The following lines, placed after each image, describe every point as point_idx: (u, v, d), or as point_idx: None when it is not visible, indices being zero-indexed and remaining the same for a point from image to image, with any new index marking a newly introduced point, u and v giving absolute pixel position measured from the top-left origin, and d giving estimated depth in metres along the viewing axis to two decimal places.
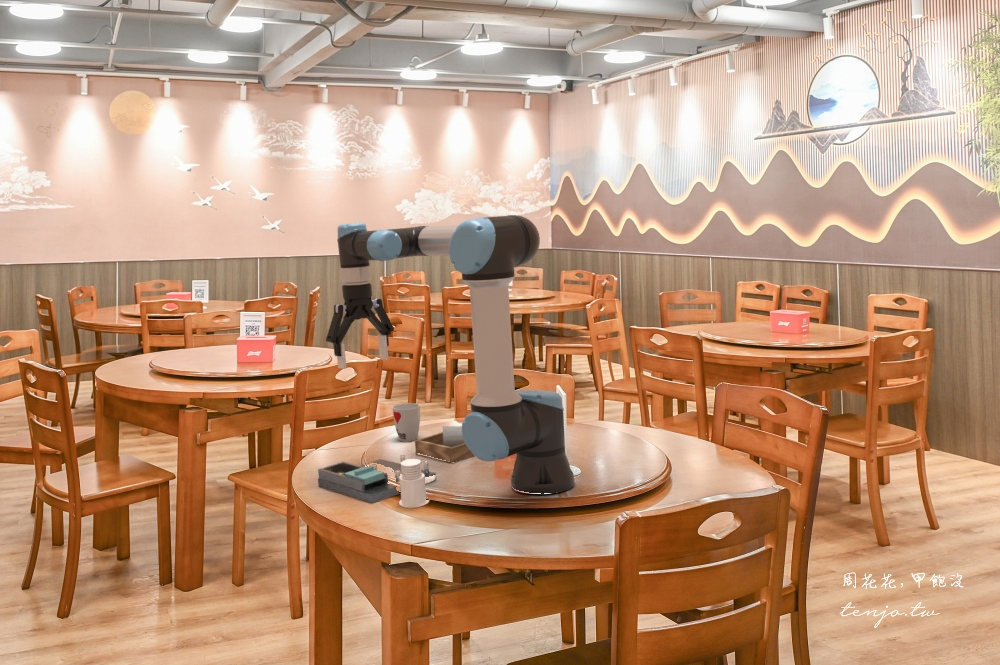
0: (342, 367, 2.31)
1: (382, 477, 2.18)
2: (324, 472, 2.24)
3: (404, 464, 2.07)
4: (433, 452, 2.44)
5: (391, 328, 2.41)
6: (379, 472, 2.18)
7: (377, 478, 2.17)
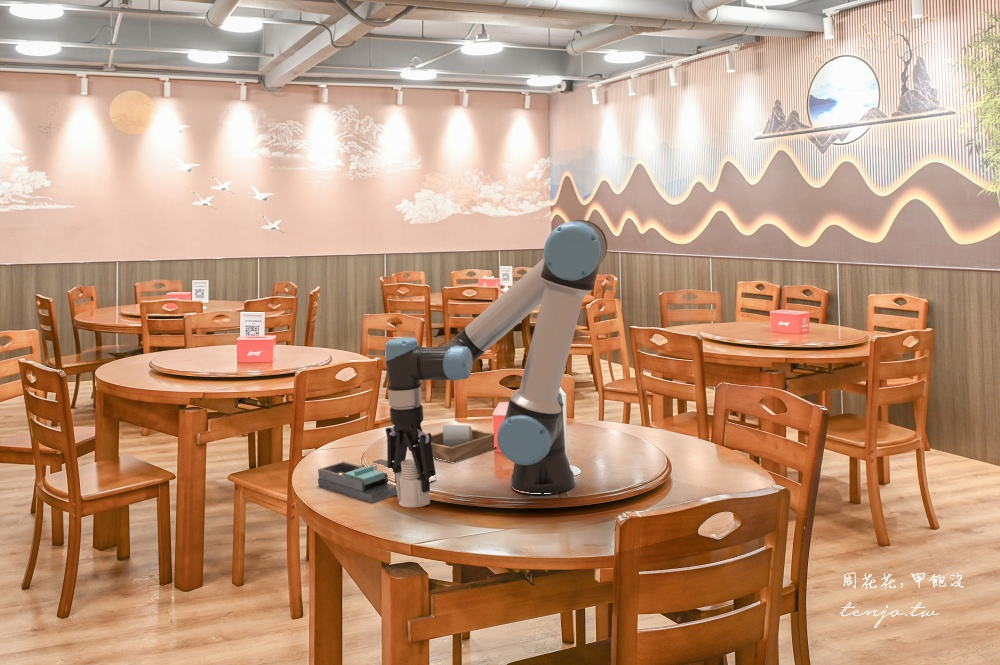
0: None
1: (382, 477, 2.18)
2: (324, 472, 2.24)
3: (404, 464, 2.07)
4: (433, 452, 2.44)
5: (425, 474, 2.03)
6: (379, 472, 2.18)
7: (377, 478, 2.17)
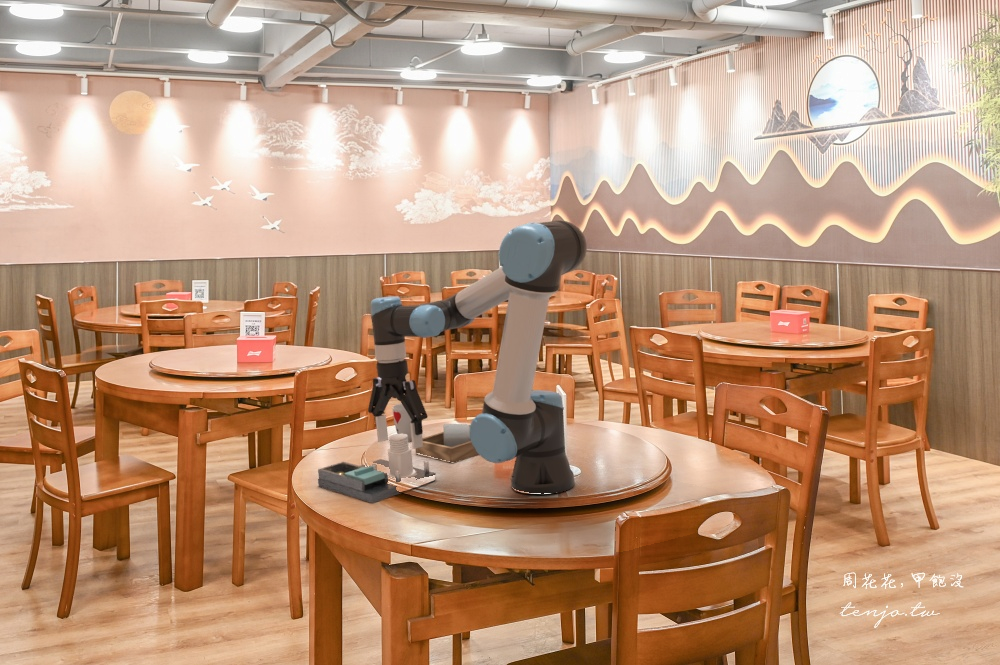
0: None
1: (382, 477, 2.18)
2: (324, 472, 2.24)
3: (392, 438, 2.22)
4: (433, 452, 2.44)
5: (417, 417, 2.15)
6: (379, 472, 2.18)
7: (377, 478, 2.17)
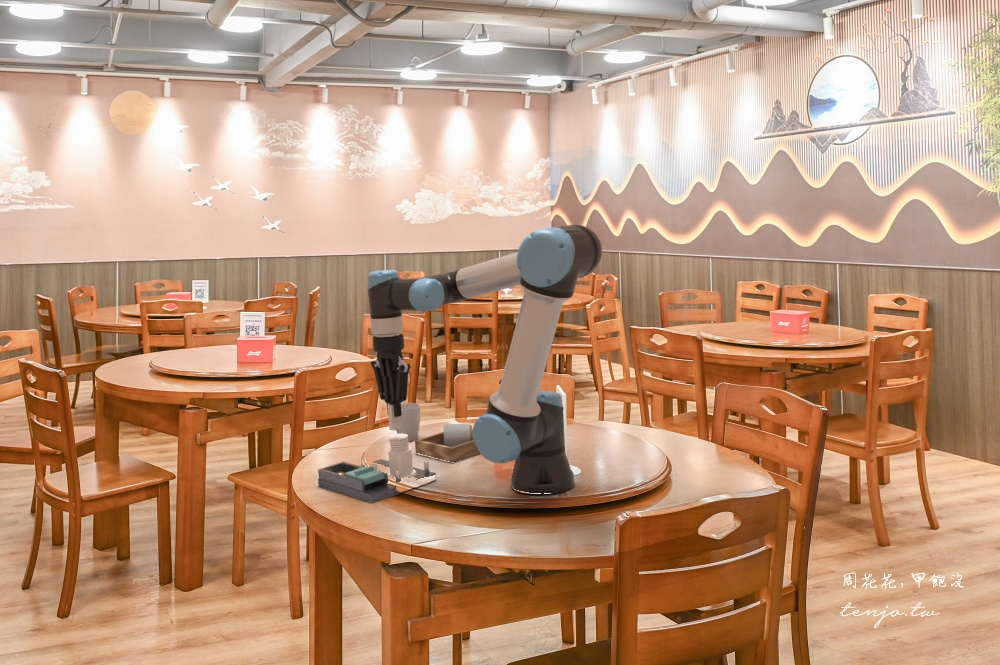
0: None
1: (382, 477, 2.18)
2: (324, 472, 2.24)
3: (392, 438, 2.22)
4: (433, 452, 2.44)
5: (396, 398, 2.17)
6: (379, 472, 2.18)
7: (377, 478, 2.17)
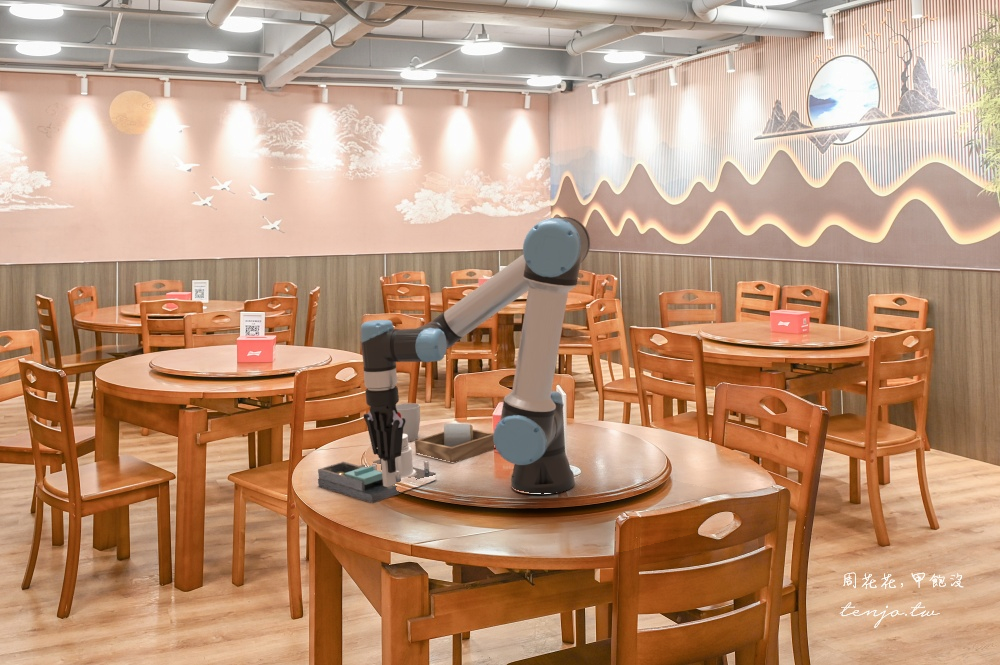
0: None
1: (382, 477, 2.18)
2: (324, 472, 2.24)
3: None
4: (433, 452, 2.44)
5: (390, 454, 2.08)
6: (379, 472, 2.18)
7: (377, 478, 2.17)
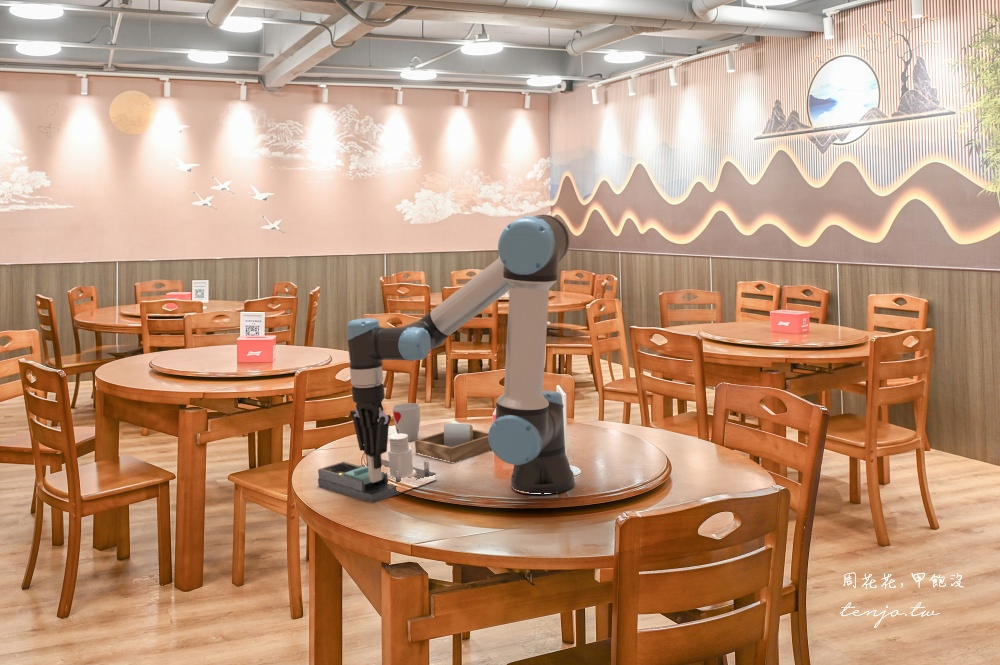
0: None
1: None
2: (324, 472, 2.24)
3: (392, 438, 2.22)
4: (433, 452, 2.44)
5: (376, 450, 2.12)
6: None
7: None
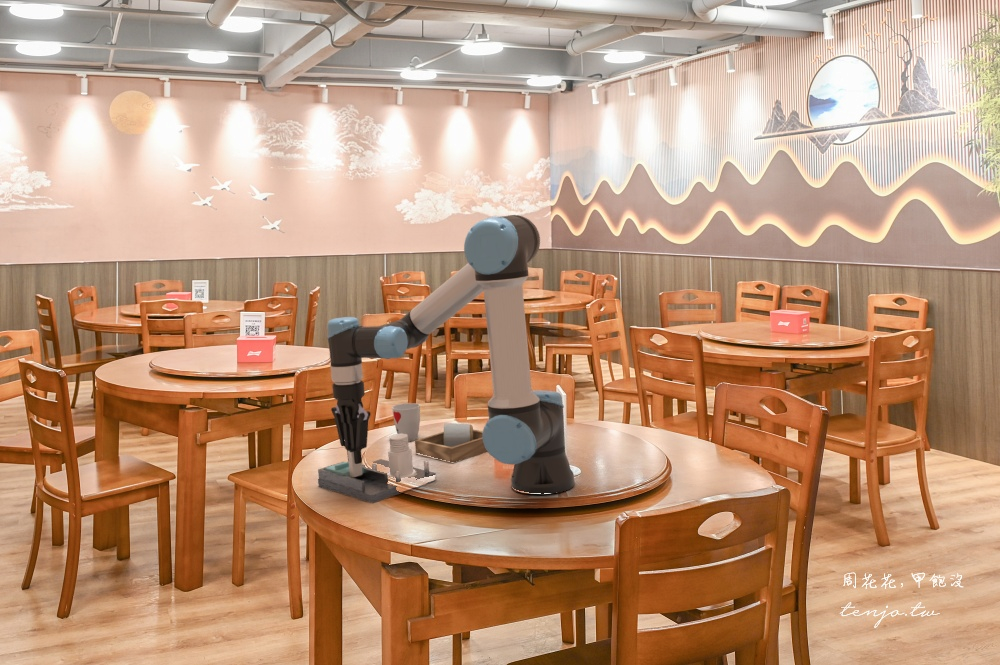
0: None
1: (362, 471, 2.24)
2: (324, 472, 2.24)
3: (392, 438, 2.22)
4: (433, 452, 2.44)
5: (356, 446, 2.17)
6: None
7: None
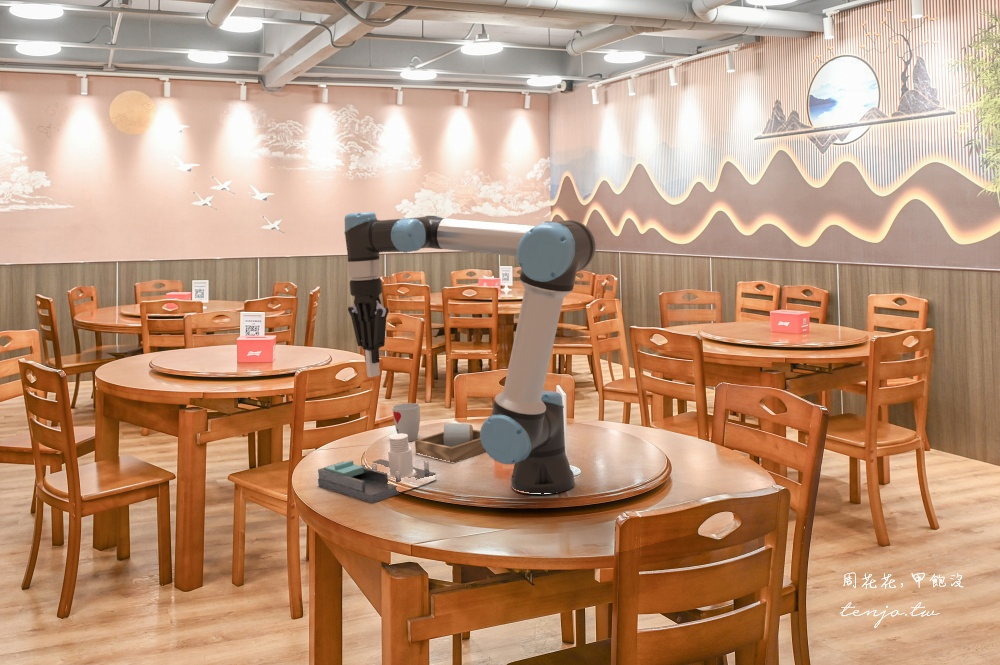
0: None
1: (361, 471, 2.24)
2: (324, 472, 2.24)
3: (392, 438, 2.22)
4: (433, 452, 2.44)
5: (374, 344, 2.13)
6: (359, 466, 2.24)
7: (357, 472, 2.23)
